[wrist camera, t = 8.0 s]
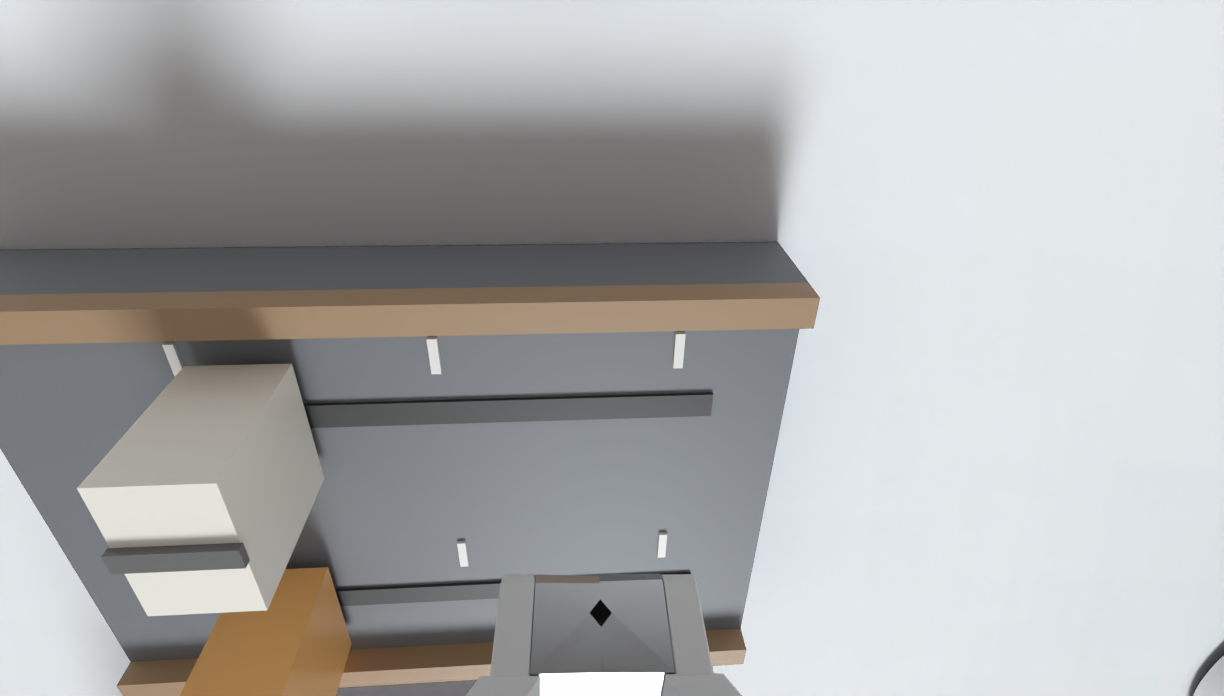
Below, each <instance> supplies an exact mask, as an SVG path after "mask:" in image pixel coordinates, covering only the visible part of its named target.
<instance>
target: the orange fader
mask: <svg viewBox="0 0 1224 696" xmlns="http://www.w3.org/2000/svg"><path fill="white" fill-rule="evenodd" d="M351 644H352V643H351V640H350V637H349V633H348V630H347V627H346V624H345V620H344V617H343V614H342V611H341V607H340V604H339V601H338V598H337V594H336V591H335V588H334V585H333V581H332V578H331V575H330V572H329V568H328V567H320V568H298V569H285V571H284V573H283V576H282V578H281V580H280V583H279V585H278V587H277V589H276V592H275V594H274V596H273V599H272V601H271V603H270V606H269V608H268V610H266V611H246V612H226V613H221V614H220V616H219V618H218V620H217V622H216V624H215V626H214V628H213V630H212V632H211V634H210V636H209V638H208V640H207V642H206V644H205V646H204V648H203V650H202V652H201V654H200V656H199V658H198V660H197V662H196V664H195V666H194V668H193V670H192V672H191V674H190V676H189V678H188V680H187V682H186V684H185V686H184V688H183V690H182V692H181V694H180V696H337V692H338V689H339V685H340V682H341V678H342V675H343V672H344V668H345V665H346V661H347V658H348V654H349V651H350V647H351Z"/></svg>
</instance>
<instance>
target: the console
mask: <svg viewBox="0 0 1224 696" xmlns="http://www.w3.org/2000/svg"><path fill="white" fill-rule="evenodd" d="M819 300H820V297H819V296H818V295H817V293H816V292H815V291H814V289H813V288H812V287H811V285H810V284H809V283H808V281H807V280H806V279H805V277H804V276H803V275H802V273H801V272H800V271H799V269H798V268H797V267H796V265H795V264H794V263H793V262H792V260H791V259H790V258H789V256H788V255H787V254H786V252H785V251H784V250H783V248H782V247H781V246H780V244H779V243H778V242H754V243H657V244H560V245H462V246H365V247H267V248H170V249H72V250H0V448H1V450H2V452H3V453H4V455H5V457H6V458H7V460H8V462H9V463H10V465H11V466H12V468H13V470H14V471H15V473H16V475H17V476H18V478H19V480H20V481H21V483H22V484H23V486H24V488H25V489H26V491H27V493H28V494H29V496H30V498H31V499H32V501H33V502H34V504H35V506H36V507H37V509H38V511H39V512H40V514H41V516H42V517H43V519H44V520H45V522H46V524H47V525H48V527H49V529H50V530H51V532H52V534H53V535H54V537H55V538H56V540H57V542H58V543H59V545H60V547H61V548H62V550H63V552H64V553H65V555H66V556H67V558H68V560H69V561H70V563H71V565H72V566H73V568H74V570H75V571H76V573H77V574H78V576H79V578H80V579H81V581H82V583H83V584H84V586H85V588H86V589H87V591H88V592H89V594H90V596H91V597H92V599H93V601H94V602H95V604H96V606H97V607H98V609H99V610H100V612H101V614H102V615H103V617H104V619H105V620H106V622H107V624H108V625H109V627H110V628H111V630H112V632H113V633H114V635H115V637H116V638H117V640H118V642H119V643H120V645H121V646H122V648H123V650H124V651H125V653H126V655H127V656H128V658H129V660H130V661H131V663H130V664H129V666H128V668H127V669H126V671H125V673H124V674H123V676H122V678H121V680H120V681H119V683H118V685H117V687H118V688H119V690H120V691H121V693H122V695H123V696H180V694H181V692H182V690H183V688H184V686H185V684H186V682H187V680H188V678H189V676H190V674H191V672H192V670H193V668H194V666H195V664H196V662H197V660H198V658H199V656H200V654H201V652H202V650H203V648H204V646H205V644H206V642H207V640H208V638H209V636H210V634H211V632H212V630H213V628H214V626H215V624H216V622H217V620H218V618H219V616H220V614H221V613H206V614H186V615H166V616H147V614H146V612H145V610H144V609H143V607H142V605H141V603H140V601H139V600H138V598H137V596H136V594H135V592H134V591H133V589H132V587H131V585H130V583H129V582H128V580H127V578H126V576H125V574H111V573H110V571H109V570H108V568H107V566H106V564H105V563H104V561H103V559H102V557H101V556H102V555H103V553H104V552H105V551H106V549H107V548H110V547H109V546H108V544H107V542H106V540H105V538H104V537H103V535H102V533H101V531H100V529H99V528H98V526H97V524H96V522H95V520H94V519H93V517H92V515H91V513H90V511H89V510H88V508H87V506H86V504H85V502H84V501H83V499H82V497H81V495H80V493H79V492H78V490H77V488H78V486H79V485H80V484H81V483H82V482H83V481H84V480H85V478H86V477H87V476H88V475H89V474H90V473H91V472H92V471H93V469H94V468H95V467H96V466H97V465H98V464H99V463H100V461H101V460H102V459H103V458H104V457H105V456H106V455H107V454H108V452H109V451H110V450H111V449H112V448H113V447H114V446H115V444H116V443H117V442H118V441H119V440H120V439H121V438H122V436H123V435H124V434H125V433H126V432H127V431H128V430H129V429H130V427H131V426H132V425H133V424H134V423H135V422H136V421H137V419H138V418H139V417H140V416H141V415H142V414H143V413H144V411H145V410H146V409H147V408H148V407H149V406H150V405H151V404H152V402H153V401H154V400H155V399H156V398H157V397H158V396H159V394H160V393H161V392H162V391H163V390H164V389H165V388H166V387H167V385H168V384H169V383H170V382H171V381H172V380H173V379H174V377H175V376H176V375H177V374H178V373H179V372H180V371H181V369H182V368H183V367H184V366H208V365H251V364H292V366H293V369H294V373H295V376H296V380H297V383H298V387H299V390H300V394H301V398H302V401H303V405H304V408H305V412H306V415H307V419H308V422H309V426H310V429H311V433H312V436H313V440H314V444H315V447H316V451H317V454H318V458H319V461H320V465H321V468H322V472H323V475H324V481H323V483H322V485H321V488H320V490H319V492H318V495H317V497H316V499H315V502H314V504H313V506H312V508H311V511H310V513H309V515H308V518H307V520H306V522H305V525H304V527H303V529H302V532H301V534H300V536H299V539H298V541H297V543H296V546H295V548H294V550H293V552H292V555H291V557H290V559H289V562H288V564H287V566H286V569H298V568H320V567H328V568H329V572H330V575H331V578H332V581H333V585H334V588H335V591H336V594H337V598H338V601H339V604H340V607H341V611H342V614H343V617H344V620H345V624H346V627H347V630H348V633H349V637H350V640H351V643H352V644H351V647H350V651H349V654H348V658H347V661H346V665H345V668H344V672H343V675H342V678H341V682H340V685H339V688H344V687H361V686H378V685H395V684H412V683H429V682H446V681H463V680H477V679H478V678H479V677H480V676H490V669H491V660H492V651H493V643H494V634H495V625H496V617H497V608H498V599H499V591H500V583H501V580H502V577H503V574H535V575H536V574H539V575H579V576H598V575H606V574H660V575H671V574H692V575H693V576H694V578H695V580H696V583H697V588H698V593H699V599H700V604H701V609H702V615H703V620H704V625H705V630H706V636H707V641H708V646H709V652H710V657H711V662H712V666H718V665H734V664H743V662H744V658H745V653H746V647H745V644H744V640H743V636H742V633H741V629H740V628H741V623H742V618H743V613H744V608H745V602H746V597H747V592H748V587H749V582H750V577H751V572H752V567H753V562H754V557H755V552H756V547H757V541H758V536H759V531H760V526H761V521H762V516H763V511H764V506H765V501H766V496H767V491H768V486H769V480H770V475H771V470H772V465H773V460H774V455H775V450H776V445H777V440H778V435H779V430H780V424H781V419H782V414H783V409H784V404H785V399H786V394H787V389H788V384H789V379H790V374H791V369H792V363H793V358H794V353H795V348H796V343H797V338H798V333H799V329H806V328H814V324H815V319H816V314H817V310H818V305H819Z"/></svg>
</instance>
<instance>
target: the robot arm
mask: <svg viewBox="0 0 1224 696" xmlns="http://www.w3.org/2000/svg"><path fill="white" fill-rule="evenodd" d="M465 696H742V695H741V694H740V693H739V692H738V691H737V689H736V688H735V687H734V686H733V685H732V683H731V682H730V681H729V680H728V679H727V678H726V676H725V675H724V674H714V673H713V667H712V662H711V657H710V652H709V646H708V641H707V636H706V630H705V625H704V620H703V615H702V609H701V604H700V599H699V593H698V588H697V583H696V580H695V578H694V576H693V575H692V574H671V575H660V574H606V575H598V576H579V575H539V574H536V575H535V574H503V577H502V580H501V583H500V591H499V599H498V608H497V617H496V625H495V634H494V643H493V651H492V660H491V669H490V676H480V677H479V678H478V679H477V681H476V682H475V683H474V685H473V686H472V687H471V688H470V690H469V691H468V692H467V694H466V695H465ZM1193 696H1224V656H1222V657H1221V658H1220V659H1219V660H1218V661H1217V662H1216V663H1215V664H1214V666H1213V667H1212V668H1211V669H1210V670H1209V671H1208V672H1207V674H1206V675H1205V676H1204V677H1203V679H1202V680H1201V682H1200V683H1199V685H1198V687H1197V689H1196V690H1195V693H1194V695H1193Z"/></svg>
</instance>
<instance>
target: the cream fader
mask: <svg viewBox="0 0 1224 696" xmlns="http://www.w3.org/2000/svg"><path fill="white" fill-rule="evenodd" d="M323 481H324V475H323V472H322V468H321V465H320V461H319V458H318V454H317V451H316V447H315V444H314V440H313V436H312V433H311V429H310V426H309V422H308V419H307V415H306V412H305V408H304V405H303V401H302V398H301V394H300V390H299V387H298V383H297V380H296V376H295V373H294V369H293V366H292V364H251V365H208V366H184V367H183V368H182V369H181V371H180V372H179V373H178V374H177V375H176V376H175V377H174V379H173V380H172V381H171V382H170V383H169V384H168V385H167V387H166V388H165V389H164V390H163V391H162V392H161V393H160V394H159V396H158V397H157V398H156V399H155V400H154V401H153V402H152V404H151V405H150V406H149V407H148V408H147V409H146V410H145V411H144V413H143V414H142V415H141V416H140V417H139V418H138V419H137V421H136V422H135V423H134V424H133V425H132V426H131V427H130V429H129V430H128V431H127V432H126V433H125V434H124V435H123V436H122V438H121V439H120V440H119V441H118V442H117V443H116V444H115V446H114V447H113V448H112V449H111V450H110V451H109V452H108V454H107V455H106V456H105V457H104V458H103V459H102V460H101V461H100V463H99V464H98V465H97V466H96V467H95V468H94V469H93V471H92V472H91V473H90V474H89V475H88V476H87V477H86V478H85V480H84V481H83V482H82V483H81V484H80V485H79V486H78V488H77V490H78V492H79V493H80V495H81V497H82V499H83V501H84V502H85V504H86V506H87V508H88V510H89V511H90V513H91V515H92V517H93V519H94V520H95V522H96V524H97V526H98V528H99V529H100V531H101V533H102V535H103V537H104V538H105V540H106V542H107V544H108V546H109V547H110V548H107V549H106V551H105V552H104V553H103V555H102V556H101V557H102V559H103V561H104V563H105V564H106V566H107V568H108V570H109V571H110V573H111V574H125V576H126V578H127V580H128V582H129V583H130V585H131V587H132V589H133V591H134V592H135V594H136V596H137V598H138V600H139V601H140V603H141V605H142V607H143V609H144V610H145V612H146V614H147V616H166V615H186V614H206V613H226V612H246V611H266V610H268V608H269V606H270V603H271V601H272V599H273V596H274V594H275V592H276V589H277V587H278V585H279V583H280V580H281V578H282V576H283V573H284V571H285V569H286V566H287V564H288V562H289V559H290V557H291V555H292V552H293V550H294V548H295V546H296V543H297V541H298V539H299V536H300V534H301V532H302V529H303V527H304V525H305V522H306V520H307V518H308V515H309V513H310V511H311V508H312V506H313V504H314V502H315V499H316V497H317V495H318V492H319V490H320V488H321V485H322V483H323Z"/></svg>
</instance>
